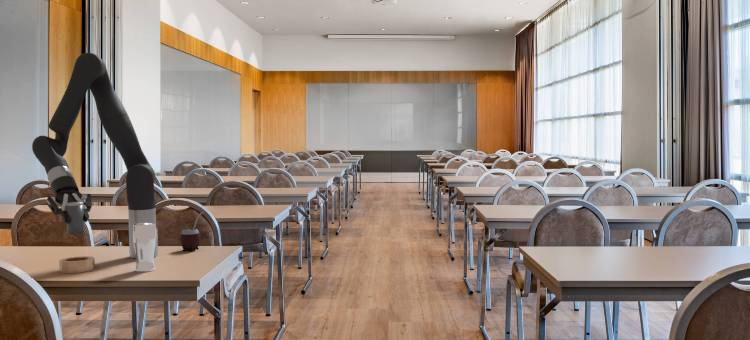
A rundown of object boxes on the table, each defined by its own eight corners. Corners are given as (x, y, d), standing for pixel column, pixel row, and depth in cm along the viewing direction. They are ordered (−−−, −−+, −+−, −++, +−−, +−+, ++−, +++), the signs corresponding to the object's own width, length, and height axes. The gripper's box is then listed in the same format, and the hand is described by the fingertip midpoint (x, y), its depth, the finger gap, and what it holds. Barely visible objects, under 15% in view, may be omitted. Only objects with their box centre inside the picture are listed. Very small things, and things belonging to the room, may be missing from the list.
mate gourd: (178, 250, 235) (177, 211, 235) (198, 247, 240) (197, 209, 239) (185, 252, 229) (184, 212, 229) (205, 250, 234) (204, 211, 233)
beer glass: (134, 273, 194) (132, 225, 193) (133, 269, 200) (132, 223, 199) (157, 271, 197) (156, 224, 196) (156, 267, 203) (154, 221, 202)
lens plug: (86, 232, 203) (85, 201, 202) (81, 234, 198) (80, 203, 197) (69, 232, 202) (68, 202, 201) (65, 234, 197) (63, 203, 196)
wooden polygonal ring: (97, 266, 206) (97, 255, 206) (89, 272, 196) (89, 261, 196) (65, 267, 204) (65, 257, 204) (55, 273, 194) (55, 262, 194)
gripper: (41, 176, 199) (56, 215, 191) (87, 173, 209) (103, 211, 201) (36, 191, 203) (51, 231, 195) (82, 188, 213) (97, 226, 205)
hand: (77, 221), depth 198 cm, fingers closed on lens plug, 5 cm apart
